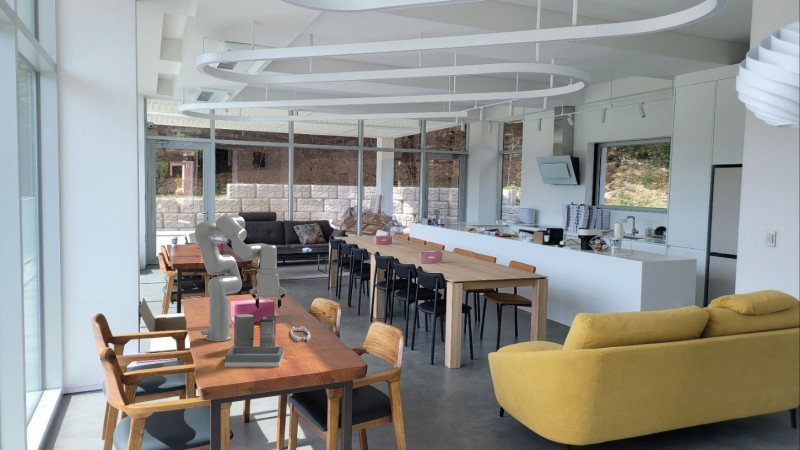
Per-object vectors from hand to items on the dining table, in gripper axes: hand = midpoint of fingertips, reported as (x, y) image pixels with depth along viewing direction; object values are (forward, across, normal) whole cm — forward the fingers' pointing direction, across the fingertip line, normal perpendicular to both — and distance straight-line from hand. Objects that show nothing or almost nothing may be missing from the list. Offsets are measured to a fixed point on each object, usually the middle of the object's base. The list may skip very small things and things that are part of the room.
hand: (268, 307), depth 263 cm
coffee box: (+21, 0, 0) cm, 21 cm away
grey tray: (+21, -4, -14) cm, 25 cm away
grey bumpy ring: (+21, +12, +28) cm, 38 cm away
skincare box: (+21, -12, +6) cm, 25 cm away
